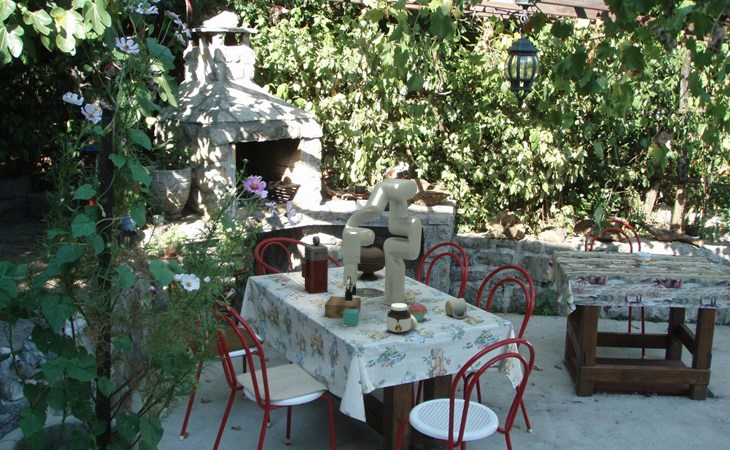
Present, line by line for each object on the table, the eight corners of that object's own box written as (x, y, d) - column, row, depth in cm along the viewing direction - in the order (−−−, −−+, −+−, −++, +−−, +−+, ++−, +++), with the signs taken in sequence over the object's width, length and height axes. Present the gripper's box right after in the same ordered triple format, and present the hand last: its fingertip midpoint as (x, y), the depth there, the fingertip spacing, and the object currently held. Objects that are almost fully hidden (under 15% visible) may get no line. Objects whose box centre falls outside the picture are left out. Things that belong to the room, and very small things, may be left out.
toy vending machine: (300, 290, 391) (300, 236, 386) (320, 287, 397) (320, 234, 391) (307, 294, 384) (307, 239, 378) (327, 292, 389) (328, 237, 384)
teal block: (358, 322, 341) (359, 309, 340) (356, 326, 335) (356, 313, 334) (345, 321, 342) (345, 308, 341) (343, 325, 336) (343, 312, 335)
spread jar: (384, 332, 328) (384, 306, 326) (394, 325, 338) (394, 299, 336) (410, 336, 323) (411, 309, 321) (420, 329, 333) (420, 302, 331)
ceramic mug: (443, 313, 356) (444, 297, 355) (460, 312, 358) (461, 296, 357) (453, 320, 346) (453, 304, 345) (469, 319, 349) (470, 302, 347)
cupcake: (413, 323, 341) (413, 296, 339) (404, 317, 348) (405, 292, 346) (430, 321, 344) (431, 295, 342) (421, 315, 352) (422, 290, 350)
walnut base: (360, 310, 359) (360, 297, 358) (355, 319, 345) (355, 306, 344) (330, 308, 361) (330, 296, 360) (324, 317, 347) (324, 304, 346)
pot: (343, 278, 414) (346, 241, 412) (362, 274, 429) (365, 238, 426) (371, 284, 404) (374, 246, 402) (389, 280, 419) (393, 243, 416)
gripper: (346, 254, 342) (345, 292, 345) (339, 262, 325) (338, 302, 328) (363, 255, 341) (362, 293, 344) (356, 263, 324) (355, 303, 327)
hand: (350, 297), depth 336 cm, fingers open, 9 cm apart
